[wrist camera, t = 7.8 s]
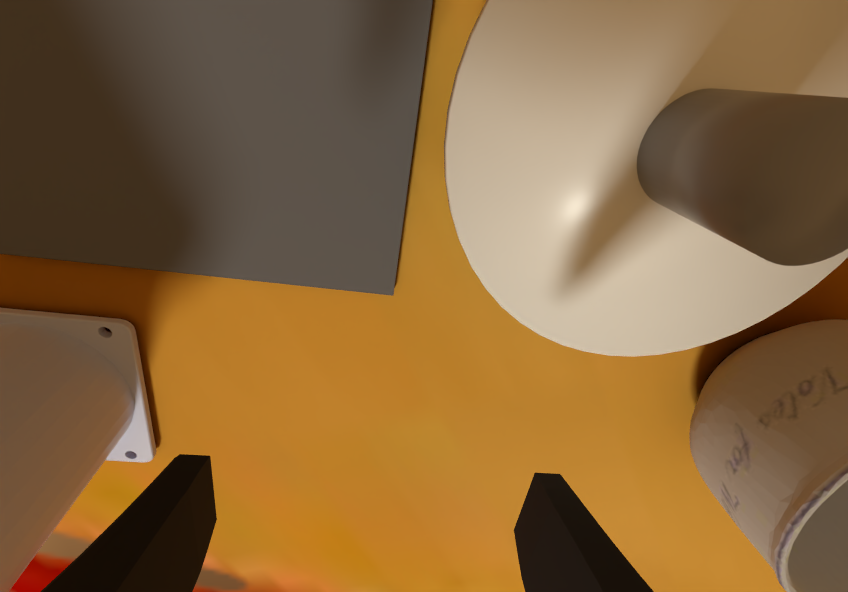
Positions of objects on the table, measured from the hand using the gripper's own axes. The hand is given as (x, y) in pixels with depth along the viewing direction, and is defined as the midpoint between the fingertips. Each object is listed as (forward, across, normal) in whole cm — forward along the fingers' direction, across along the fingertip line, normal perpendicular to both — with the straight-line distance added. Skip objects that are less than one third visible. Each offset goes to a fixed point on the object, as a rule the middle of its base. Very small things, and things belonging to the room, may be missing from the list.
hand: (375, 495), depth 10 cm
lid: (+5, -7, -8) cm, 12 cm away
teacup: (+10, -20, +4) cm, 23 cm away
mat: (+10, +7, -8) cm, 14 cm away
